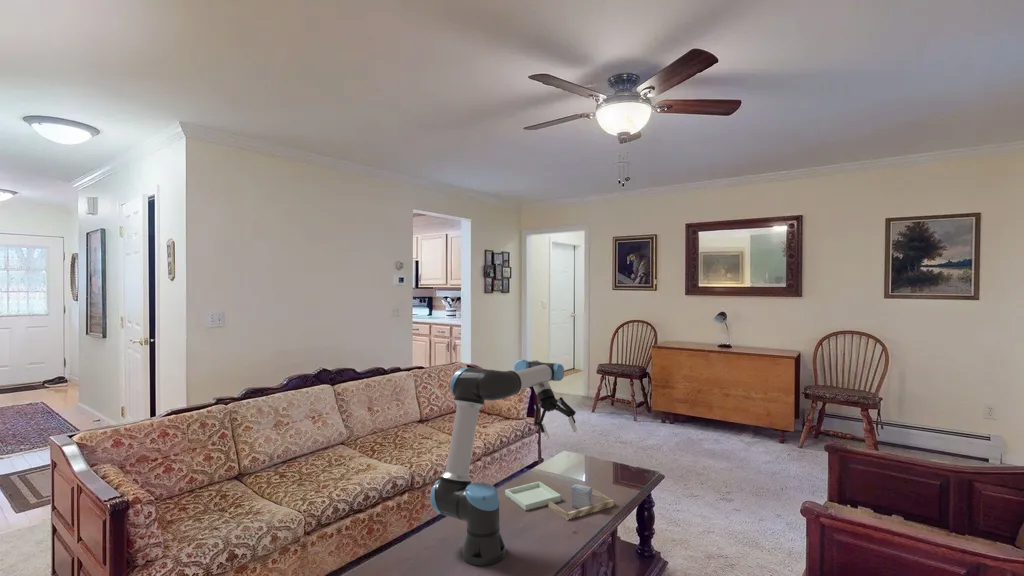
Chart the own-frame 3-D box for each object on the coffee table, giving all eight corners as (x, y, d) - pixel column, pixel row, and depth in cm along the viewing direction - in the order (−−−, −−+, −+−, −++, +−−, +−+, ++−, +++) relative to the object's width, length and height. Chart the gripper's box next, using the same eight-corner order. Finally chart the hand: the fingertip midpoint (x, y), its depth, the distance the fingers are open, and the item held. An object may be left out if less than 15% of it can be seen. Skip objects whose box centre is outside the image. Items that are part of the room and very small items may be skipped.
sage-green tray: (525, 510, 207) (525, 505, 207) (505, 495, 223) (505, 489, 223) (561, 500, 216) (560, 495, 216) (539, 486, 231) (539, 481, 231)
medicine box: (593, 507, 209) (592, 487, 208) (588, 511, 205) (588, 490, 205) (576, 503, 213) (575, 483, 213) (571, 507, 209) (571, 487, 209)
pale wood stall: (567, 520, 198) (566, 514, 198) (548, 507, 210) (548, 501, 210) (614, 506, 209) (613, 500, 209) (594, 494, 221) (593, 489, 221)
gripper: (565, 389, 236) (584, 431, 224) (517, 401, 227) (534, 445, 215) (570, 382, 230) (589, 424, 218) (520, 394, 221) (538, 438, 210)
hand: (561, 434), depth 217 cm, fingers open, 13 cm apart
